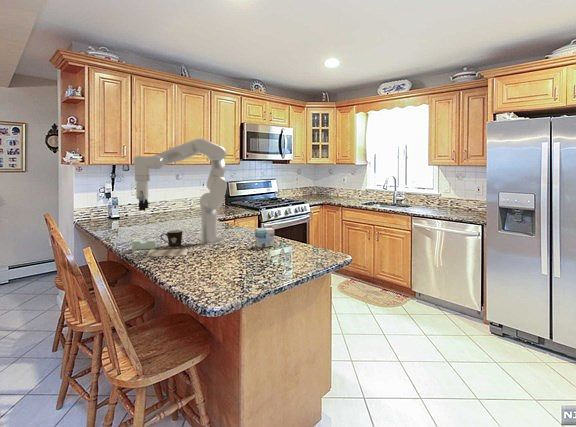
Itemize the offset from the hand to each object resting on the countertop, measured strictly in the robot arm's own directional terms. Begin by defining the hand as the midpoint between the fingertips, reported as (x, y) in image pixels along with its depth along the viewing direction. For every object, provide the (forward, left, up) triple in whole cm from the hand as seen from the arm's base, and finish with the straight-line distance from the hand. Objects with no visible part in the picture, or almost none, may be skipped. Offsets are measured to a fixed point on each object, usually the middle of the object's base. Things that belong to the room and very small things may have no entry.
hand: (143, 209), depth 200 cm
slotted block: (0, 0, -24) cm, 24 cm away
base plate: (-14, +14, -24) cm, 31 cm away
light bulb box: (-69, -1, -24) cm, 73 cm away
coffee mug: (-15, -4, -24) cm, 28 cm away
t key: (0, -13, -24) cm, 27 cm away
